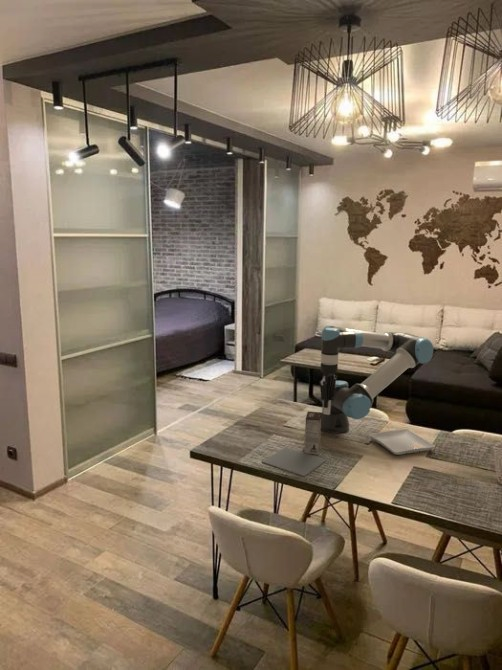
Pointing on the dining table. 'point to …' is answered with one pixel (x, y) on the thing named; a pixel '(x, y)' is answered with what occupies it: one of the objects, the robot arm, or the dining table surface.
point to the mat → (294, 461)
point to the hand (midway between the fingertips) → (326, 413)
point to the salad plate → (401, 441)
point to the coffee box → (313, 432)
